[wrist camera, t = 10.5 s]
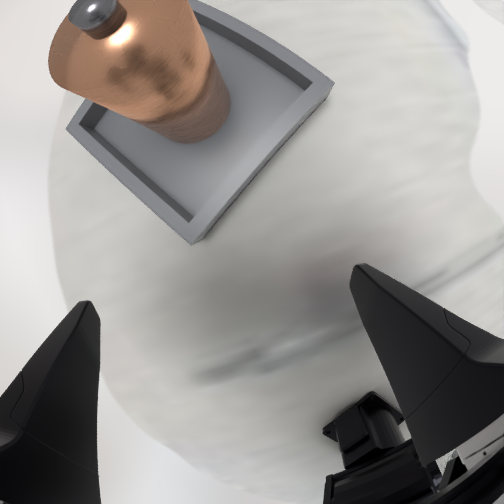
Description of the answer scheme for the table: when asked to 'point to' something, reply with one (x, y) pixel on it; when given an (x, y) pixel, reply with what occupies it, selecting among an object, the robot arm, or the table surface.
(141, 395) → the table surface
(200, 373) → the table surface
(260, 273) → the table surface
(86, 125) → the fill tray
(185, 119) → the copper bottle
